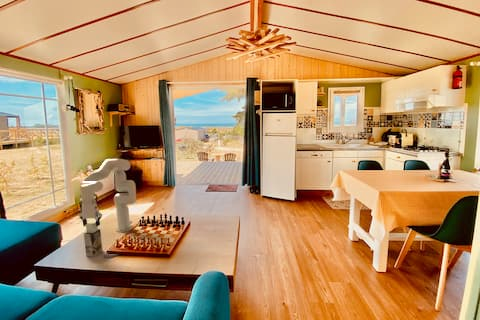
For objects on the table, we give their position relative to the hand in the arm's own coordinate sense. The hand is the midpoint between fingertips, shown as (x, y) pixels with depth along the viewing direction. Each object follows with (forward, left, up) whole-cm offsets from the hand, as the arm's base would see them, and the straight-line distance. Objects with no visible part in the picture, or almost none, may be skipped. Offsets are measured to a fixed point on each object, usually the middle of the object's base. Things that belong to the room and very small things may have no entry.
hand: (91, 225), depth 190 cm
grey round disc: (+2, +14, -20) cm, 25 cm away
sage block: (0, 0, -4) cm, 4 cm away
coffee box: (0, 0, -20) cm, 20 cm away
